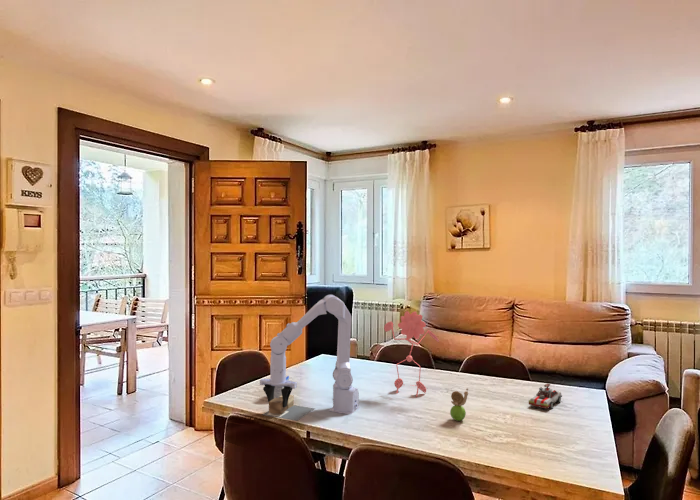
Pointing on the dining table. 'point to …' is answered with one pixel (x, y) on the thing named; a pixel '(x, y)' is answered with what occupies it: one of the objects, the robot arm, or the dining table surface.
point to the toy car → (546, 397)
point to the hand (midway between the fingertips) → (278, 405)
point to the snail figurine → (458, 405)
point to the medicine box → (279, 390)
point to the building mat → (292, 413)
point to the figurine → (410, 328)
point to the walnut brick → (277, 406)
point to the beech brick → (289, 401)
